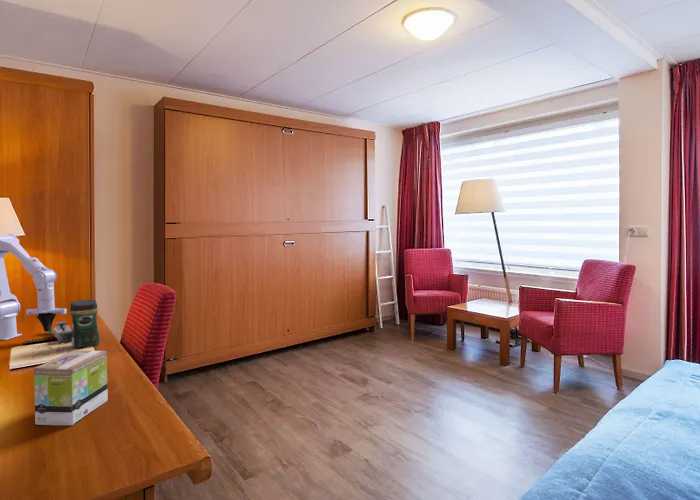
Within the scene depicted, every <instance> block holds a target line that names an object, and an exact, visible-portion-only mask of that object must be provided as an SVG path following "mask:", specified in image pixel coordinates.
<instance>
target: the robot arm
mask: <svg viewBox="0 0 700 500" xmlns="http://www.w3.org/2000/svg"><path fill="white" fill-rule="evenodd" d="M9 253H10V254H12V255H13V256H14V257H15V258H17V259H18V260H19V261H20V262H22V267H23V268H24V269H25V271H26V272H28V274H30V275H31V277H32V281H33V283H34V285H35V289H36V292H37V293H36V295H37V308H29V309H26V310H25V314H26V315H27V316H28V315H37V316H36V319H38V320H39V322H40V324H41V325H42V328H43V331H44V332H46V333H48V331H50V330H51V327H52V326H53V322H54V319H55V318H56V316H57V314H58V315H59V314H61V315H65V314H67V313H68V312H67V311H68V309H67V308H63V307H62V308H61V307H60V308H59V307H56V305H55V304H56V303H55V282H56V281H57V279H58V275H57V272H55V270H54V269H52V268H48V267H46V266H45V265H44V264H43V263H42V262H41V261H40V260H39V259H38V258H37V257H32V256H30V254H29V253H28V252H27V251H26V250H25V248H24V247H23V246H22V245H21V244H20V239H19V238H17V236H16V235H14V234H12V233H10V234H0V340H1V341H7V340H11V339H14V338H17V337H21V336H22V335H23V334H22V333H18V329H17V316H18V313H19V312H20V310H21V304H20V302H19V301H18V297H17V296H16V295H15V294H13V293H11V289H10V284H9V280H8V274H7V270H6V265H5V259H4V257H5V256H6V255H7V254H9Z"/></svg>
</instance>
